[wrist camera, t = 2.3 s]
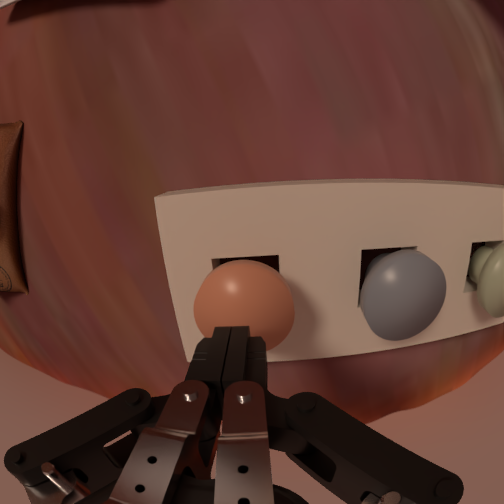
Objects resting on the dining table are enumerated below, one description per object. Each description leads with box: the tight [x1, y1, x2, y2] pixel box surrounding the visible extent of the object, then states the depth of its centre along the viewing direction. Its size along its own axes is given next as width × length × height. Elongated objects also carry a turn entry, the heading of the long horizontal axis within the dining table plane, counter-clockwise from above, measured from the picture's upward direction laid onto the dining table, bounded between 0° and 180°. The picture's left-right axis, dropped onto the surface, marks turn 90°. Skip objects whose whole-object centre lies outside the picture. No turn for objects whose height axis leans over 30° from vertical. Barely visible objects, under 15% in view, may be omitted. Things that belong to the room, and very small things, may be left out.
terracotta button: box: [193, 260, 295, 351], centre depth 16 cm, size 5×5×4 cm
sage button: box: [468, 243, 504, 318], centre depth 15 cm, size 5×5×4 cm
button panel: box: [154, 179, 504, 362], centre depth 18 cm, size 28×12×2 cm, turn 95°
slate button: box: [360, 249, 447, 341], centre depth 16 cm, size 5×5×4 cm
